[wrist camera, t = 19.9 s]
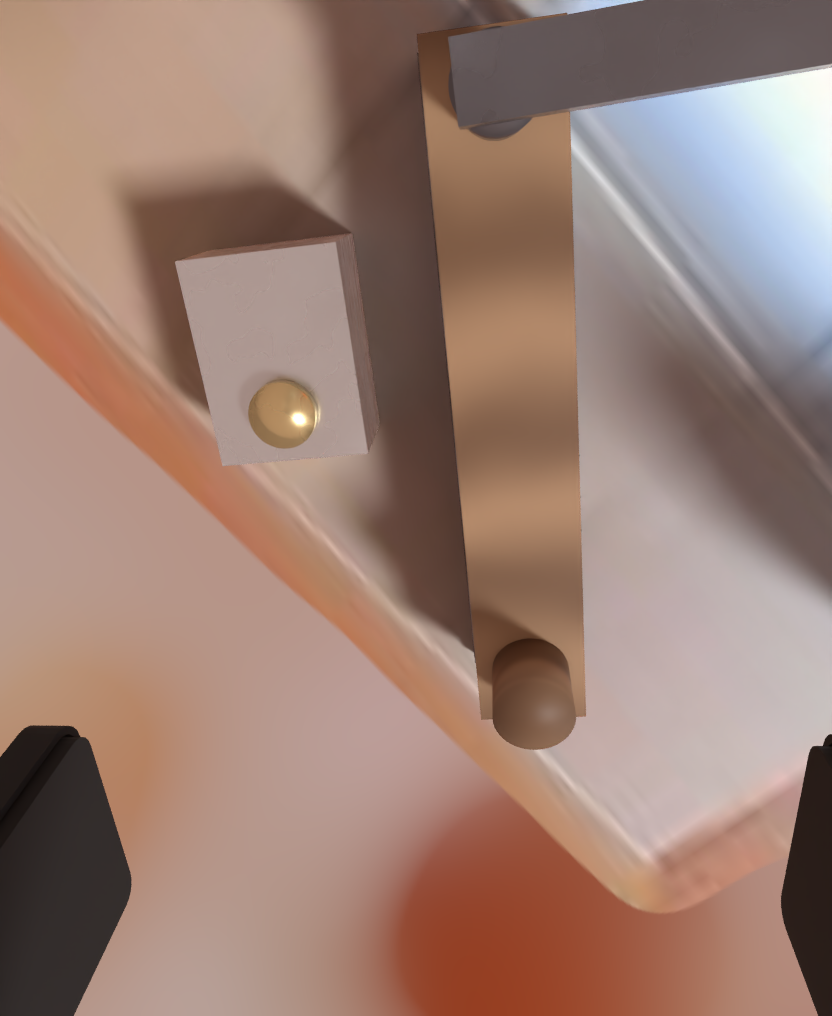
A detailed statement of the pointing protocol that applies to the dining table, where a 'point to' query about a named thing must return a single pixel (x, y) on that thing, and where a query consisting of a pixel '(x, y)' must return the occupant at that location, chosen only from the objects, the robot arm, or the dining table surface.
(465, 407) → the body
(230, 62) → the dining table surface
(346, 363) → the white block brass knobs
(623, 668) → the dining table surface
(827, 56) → the lever
